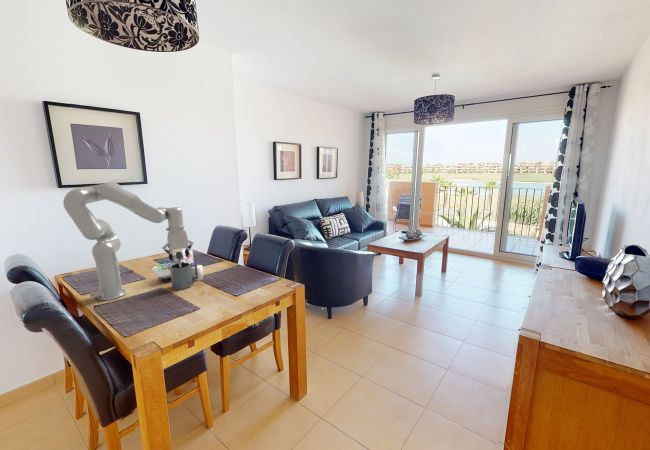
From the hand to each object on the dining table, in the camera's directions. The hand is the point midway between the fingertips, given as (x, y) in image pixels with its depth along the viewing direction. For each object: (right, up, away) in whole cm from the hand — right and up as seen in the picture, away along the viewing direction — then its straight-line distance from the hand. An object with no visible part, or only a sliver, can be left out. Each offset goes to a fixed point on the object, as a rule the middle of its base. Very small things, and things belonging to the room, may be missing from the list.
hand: (179, 258), depth 166 cm
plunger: (0, -16, +3) cm, 16 cm away
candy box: (-7, -14, +22) cm, 27 cm away
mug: (+3, -15, +16) cm, 22 cm away
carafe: (+1, -17, +5) cm, 18 cm away
